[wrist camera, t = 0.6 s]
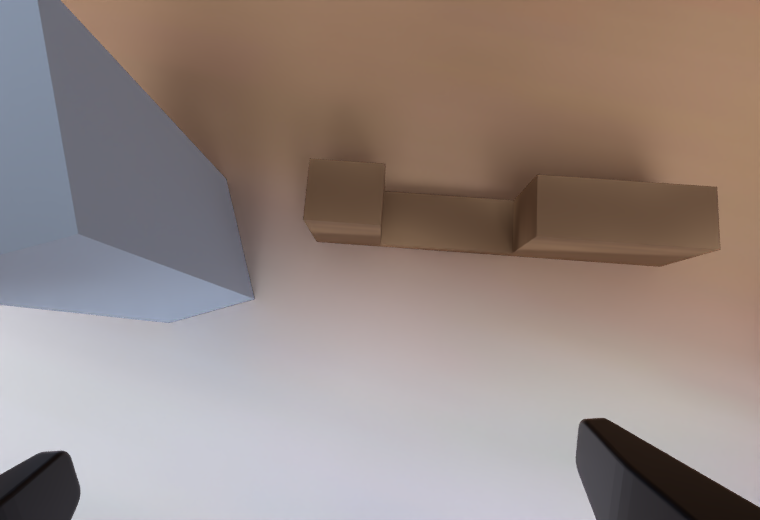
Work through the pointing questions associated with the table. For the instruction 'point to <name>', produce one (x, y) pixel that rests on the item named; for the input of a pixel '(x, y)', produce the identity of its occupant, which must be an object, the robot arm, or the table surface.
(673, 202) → the notched walnut block
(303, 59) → the table surface
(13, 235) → the pale blue block
